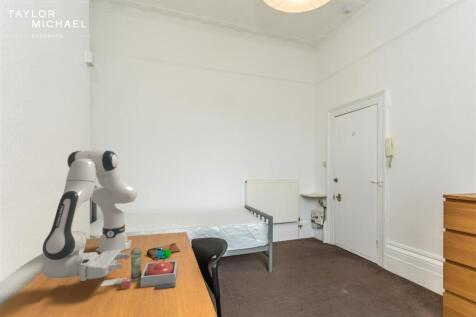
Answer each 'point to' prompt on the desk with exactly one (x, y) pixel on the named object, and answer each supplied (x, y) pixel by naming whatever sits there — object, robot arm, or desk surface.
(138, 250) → the pawn
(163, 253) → the stick construction toy
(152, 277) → the game board
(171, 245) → the sunglasses case
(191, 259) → the desk surface
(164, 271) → the dome
